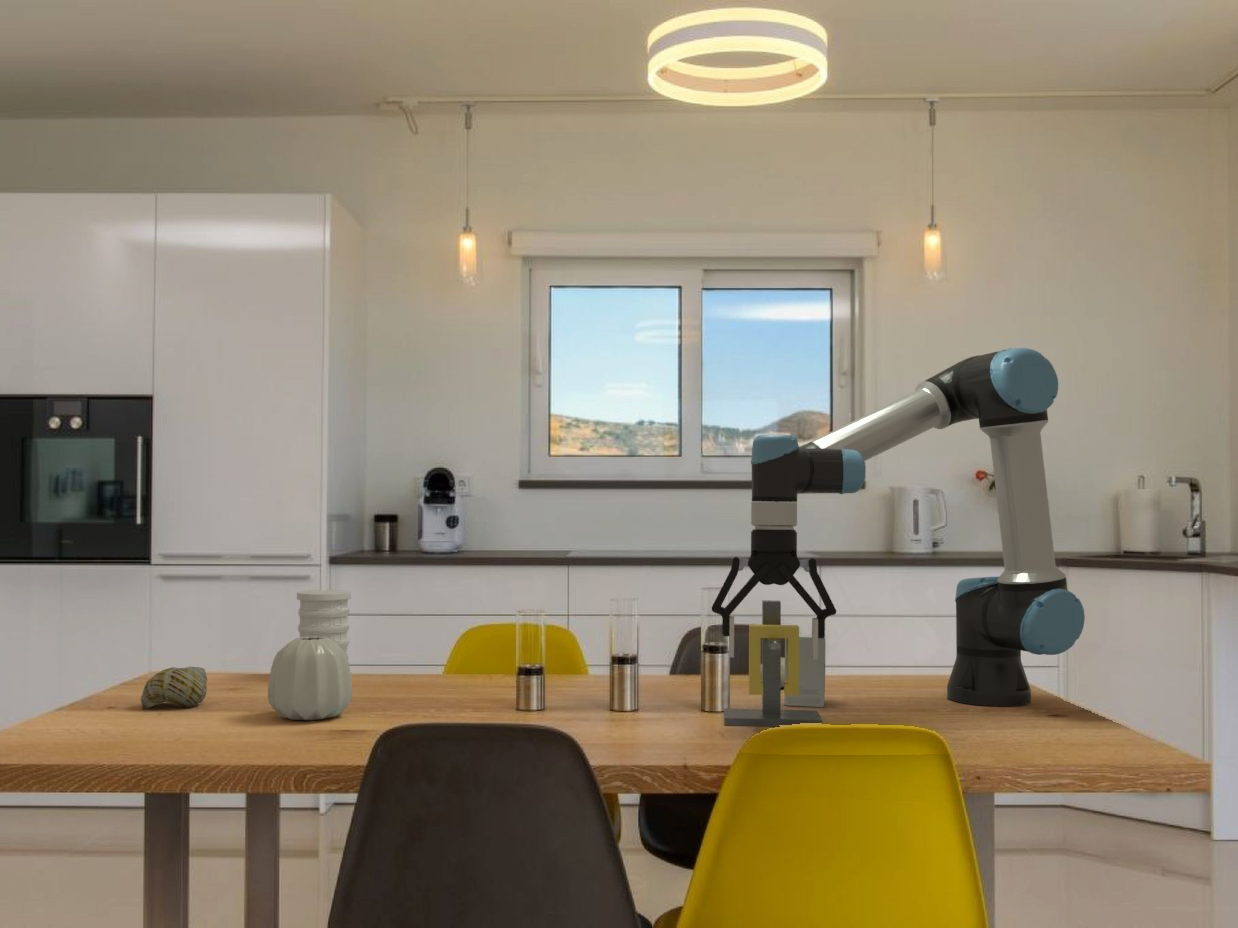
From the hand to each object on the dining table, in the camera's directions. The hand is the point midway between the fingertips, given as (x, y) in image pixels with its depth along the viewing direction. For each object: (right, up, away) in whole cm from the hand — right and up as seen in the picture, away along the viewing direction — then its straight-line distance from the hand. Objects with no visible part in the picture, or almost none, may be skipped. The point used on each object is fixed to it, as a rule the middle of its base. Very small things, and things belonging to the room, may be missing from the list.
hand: (773, 657), depth 187 cm
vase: (-78, -11, +6) cm, 79 cm away
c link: (0, -6, 0) cm, 6 cm away
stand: (0, -11, +1) cm, 12 cm away
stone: (+8, -14, +44) cm, 47 cm away
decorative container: (-86, -13, +47) cm, 99 cm away
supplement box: (+9, -13, +23) cm, 28 cm away
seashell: (-104, -12, +15) cm, 106 cm away
